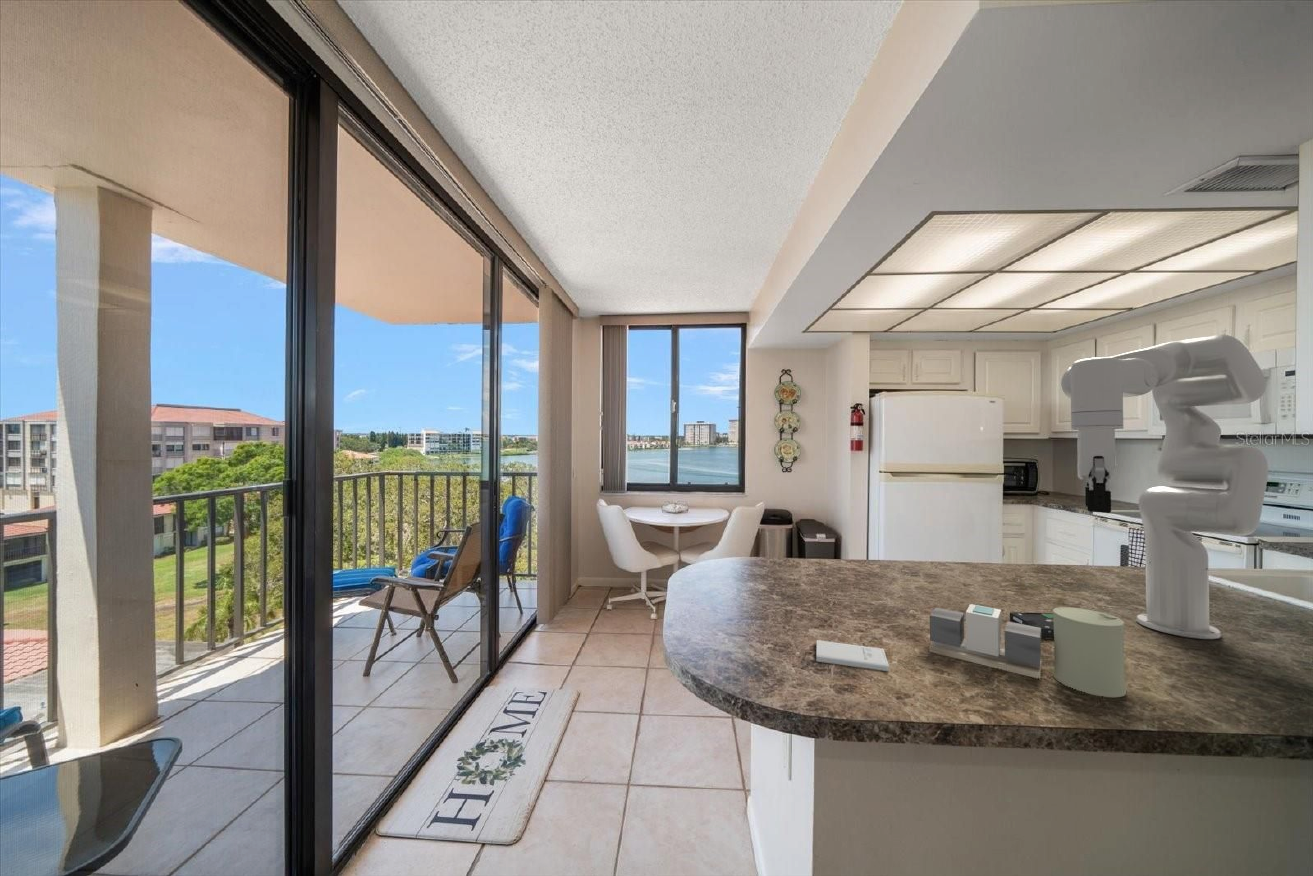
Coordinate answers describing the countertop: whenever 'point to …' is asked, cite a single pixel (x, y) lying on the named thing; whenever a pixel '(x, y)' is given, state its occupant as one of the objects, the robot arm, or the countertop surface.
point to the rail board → (1016, 656)
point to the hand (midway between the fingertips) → (1097, 509)
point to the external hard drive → (851, 655)
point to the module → (983, 629)
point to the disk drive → (1036, 621)
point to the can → (1089, 651)
